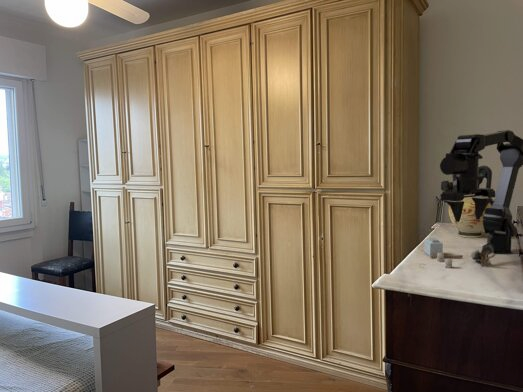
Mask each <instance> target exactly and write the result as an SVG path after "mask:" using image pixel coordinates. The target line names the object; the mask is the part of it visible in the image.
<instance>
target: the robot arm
mask: <svg viewBox="0 0 523 392" xmlns="http://www.w3.org/2000/svg"><path fill="white" fill-rule="evenodd" d="M504 143H505V144H504ZM493 145H496V150H497V152H498V153H499V154H500V155H499V159H500V162H501V164H502V168H501V172H500V175H499V176H500V177H499V179H498V185H497V188H496V191H495V190H494V188H491V189H488V188H486V187H485V188H484V187H479V188H478V180H480V179H481V176H478V167H479V160H481V159H482V160H483V155H481V154H480V153H479V152H482V151H483V150H484V149H486V147H488V146H493ZM522 167H523V138H522V137H519V136H518V135H516V134H515V133H514V131H513V130H510V129H507V130H497V131H495V132H491V133H485V134H478V133H476V134H475V133H474V134H462V135H461V134H460V135H458V136H457V139H456V140H455V142H454V144H453V145H452V147H451V150H450V151H449V153H445V156H444V157H443V158H442V160H441V162H440V163H439V168H440V171H441V173H442V174H444V175H446V176H447V175H448V176H449V175H452V174H459V176H456V178H455V181H454V182H453V181H449V180H443V181H441V182H440V190H441V191H442V192H441V193H440V201H443V202H444V203H446V204H447V205H448V207H449V206H450V207H451V209H452V212H453V215H454V217H455V220H456V222H459V221H460V218H461V215H462V210H463V206H464V201H462V200H463V199H464V198H466V197H474V198H472V200H473V201H474V203H475V216H476V219H480V217H481V215H482V214H483V212H484V210H485V213H484V216H483V227H484V230H483V232H484V233H485V234H486V235H487V234H488V237H487V238H486V244H487V243H492V244H493V246H494V248H495V249H494V252H493V253H492V254H514V251H512V237H516V236H517V233H518V229H517V227H516V225H514V223H513V213H512V212H511V209H510V206H511V201H512V198H513V194H514V190H515V187H516V186H515V185H516V182H517V178H518V174H519V170H520V168H522ZM493 198H494V199H493ZM491 200H493V201H494V203H493V205H492V206H491V207H490V208H486V207H487V205H488V204H489V202H490V201H491ZM485 208H486V209H485Z"/></svg>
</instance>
